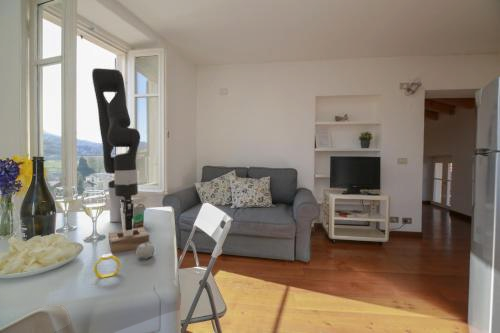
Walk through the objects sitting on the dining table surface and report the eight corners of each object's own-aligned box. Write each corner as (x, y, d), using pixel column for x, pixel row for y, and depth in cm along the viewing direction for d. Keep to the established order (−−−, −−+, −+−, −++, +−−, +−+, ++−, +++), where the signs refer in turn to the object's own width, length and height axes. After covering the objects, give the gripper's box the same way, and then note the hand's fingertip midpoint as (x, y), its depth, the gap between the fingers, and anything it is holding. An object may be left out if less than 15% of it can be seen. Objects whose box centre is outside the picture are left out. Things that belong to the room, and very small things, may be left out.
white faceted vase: (126, 243, 87) (124, 202, 86) (119, 241, 89) (117, 201, 88) (137, 239, 91) (136, 200, 90) (131, 237, 93) (129, 199, 92)
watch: (120, 273, 69) (120, 252, 69) (118, 277, 66) (119, 256, 66) (95, 275, 67) (96, 254, 66) (93, 280, 64) (93, 258, 64)
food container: (134, 232, 103) (133, 209, 103) (122, 232, 105) (121, 209, 104) (151, 224, 115) (151, 203, 115) (140, 224, 117) (139, 203, 116)
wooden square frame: (109, 243, 92) (108, 232, 92) (143, 236, 98) (142, 226, 98) (111, 253, 82) (111, 242, 82) (149, 245, 88) (148, 234, 88)
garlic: (159, 255, 79) (158, 240, 79) (145, 262, 75) (144, 246, 74) (146, 252, 82) (145, 237, 82) (132, 259, 77) (131, 243, 77)
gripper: (112, 181, 93) (115, 225, 94) (116, 185, 81) (118, 235, 82) (134, 179, 97) (136, 222, 98) (140, 183, 85) (142, 231, 86)
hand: (128, 227), depth 90 cm, fingers closed on white faceted vase, 4 cm apart
